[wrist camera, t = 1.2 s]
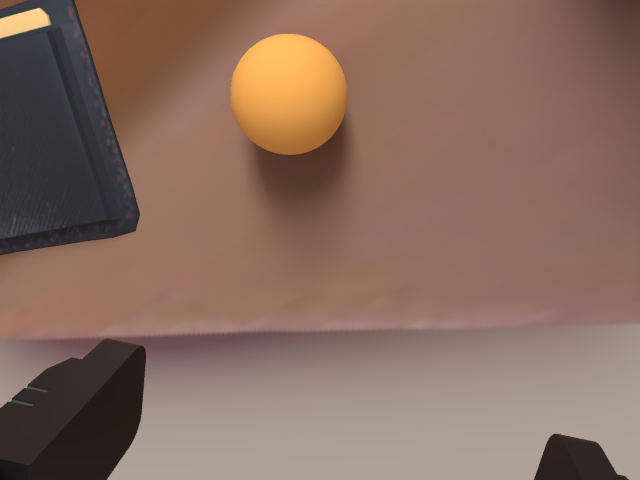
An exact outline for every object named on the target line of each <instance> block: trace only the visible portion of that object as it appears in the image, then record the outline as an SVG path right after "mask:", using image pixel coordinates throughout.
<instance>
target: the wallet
mask: <svg viewBox="0 0 640 480" xmlns="http://www.w3.org/2000/svg"><path fill="white" fill-rule="evenodd" d="M139 216H140V213H139V209H138V205H137V201H136V198H135V194H134V190H133V186H132V183H131V180H130V177H129V174H128V171H127V168H126V165H125V162H124V159H123V156H122V152H121V149H120V146H119V143H118V140H117V137H116V134H115V131H114V128H113V125H112V122H111V119H110V115H109V112H108V109H107V105H106V102H105V99H104V95H103V92H102V89H101V85H100V82H99V78H98V75H97V72H96V68H95V65H94V62H93V58H92V55H91V51H90V48H89V45H88V42H87V39H86V36H85V33H84V30H83V27H82V24H81V21H80V18H79V15H78V11H77V8H76V5H75V1H74V0H28V1H25V2H22V3H19V4H16V5H13V6H10V7H7V8H4V9H1V10H0V255H2V254H8V253H13V252H19V251H25V250H32V249H38V248H45V247H51V246H57V245H64V244H70V243H77V242H83V241H90V240H98V239H105V238H113V237H117V236H120V235H123V234H127V233H130V232H133V231H136V227H137V224H138V220H139Z"/></svg>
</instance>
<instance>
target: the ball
mask: <svg viewBox="0 0 640 480" xmlns="http://www.w3.org/2000/svg"><path fill="white" fill-rule="evenodd" d="M230 95H231V105H232V109H233V113H234V116H235V118H236V120H237V122H238V124H239V126H240V128H241V129H242V130H243V132H244V133H245V134H246V135H247V136H248V137H249V138H250V139H251V140H252V141H253V142H254V143H255V144H257V145H258V146H260V147H262V148H263V149H266V150H268V151H270V152H274V153H278V154H284V155H296V154H302V153H306V152H309V151H311V150H314V149H316V148H318V147H319V146H321V145H322V144H324V143H325V142H326V141H328V140H329V139H330V138H331V137H332V136H333V134H334V133H335V132H336V130H337V129H338V127H339V125H340V124H341V122H342V119H343V117H344V114H345V110H346V106H347V84H346V80H345V76H344V73H343V71H342V68H341V67H340V65H339V63H338V61H337V60H336V59H335V57H334V56H333V55H332V54H331V53H330V52H329V51H328V50H327V49H326V48H325V47H324V46H323V45H321V44H320V43H318V42H316V41H315V40H313V39H310V38H308V37H305V36H301V35H296V34H281V35H275V36H271V37H268V38H266V39H264V40H262V41H260V42H258V43H257V44H255V45H254V46H253V47H252V48H250V49H249V50H248V51H247V52H246V53H245V55H244V56H243V57H242V58H241V60H240V61H239V63H238V65H237V67H236V69H235V71H234V74H233V77H232V82H231V91H230Z"/></svg>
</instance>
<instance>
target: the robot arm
mask: <svg viewBox="0 0 640 480" xmlns="http://www.w3.org/2000/svg"><path fill="white" fill-rule="evenodd" d="M145 364H146V351H145V348H144V347H143V346H140V345H135V344H131V343H126V342H121V341H116V340H112V339H104V340H103V341H102V342H101V343H99V344H98V345H97V346H96V347H95V348H94V349H93V350H92V351H91V352H90V353H89V354H88V355H86V356H85V357H84V358H83V359H82V360H81V359H77V358H70V359H68V360H66V361H64V362H61V363H59V364H57V365H54V366H52V367H50V368H48V369H46V370H45V371H43V372H42V373H41V374H40V375H39V376H38V377H36V379H34V380H33V381H32V382H31V383H29V384H28V387H27V388H24V389H22V390H21V391H20V392H19V393H18V394H17V395H15V396H14V397H13V398H12V401H11V402H7V403H6V404H5V405H4V406H3V407H1V408H0V480H107V478H108V477H109V475H110V474H111V473H112V471H113V470H114V468H115V467H116V466H117V464H118V463H119V461H120V460H121V458H122V457H123V455H124V454H125V453H126V451H127V450H128V448H129V447H130V445H131V444H132V442H133V440H134V438H135V435H136V433H137V430H138V427H139V424H140V419H141V413H142V401H143V389H144V377H145ZM534 480H628V479H627V478H626V477H625V476H622V475H617V473H616V472H615V470H614V468H613V467H612V465H611V463H610V462H609V460H608V458H607V456H606V455H605V453H604V451H603V450H602V448H601V447H600V445H599V444H598V443H596V442H593V441H588V440H584V439H579V438H574V437H570V436H565V435H560V434H553V435H552V436H551V437H550V438H549V440H548V442H547V444H546V447H545V450H544V452H543V455H542V458H541V461H540V464H539V467H538V470H537V473H536V476H535V478H534Z"/></svg>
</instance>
